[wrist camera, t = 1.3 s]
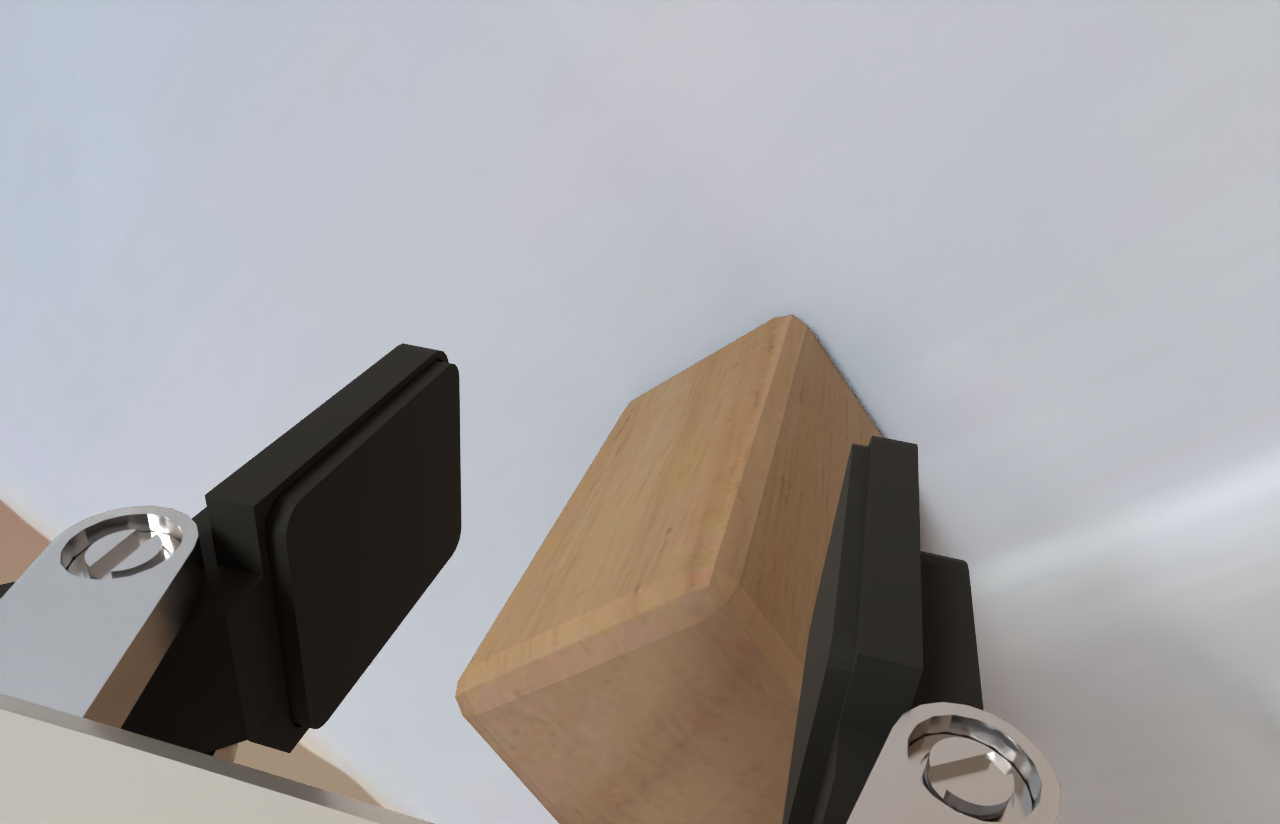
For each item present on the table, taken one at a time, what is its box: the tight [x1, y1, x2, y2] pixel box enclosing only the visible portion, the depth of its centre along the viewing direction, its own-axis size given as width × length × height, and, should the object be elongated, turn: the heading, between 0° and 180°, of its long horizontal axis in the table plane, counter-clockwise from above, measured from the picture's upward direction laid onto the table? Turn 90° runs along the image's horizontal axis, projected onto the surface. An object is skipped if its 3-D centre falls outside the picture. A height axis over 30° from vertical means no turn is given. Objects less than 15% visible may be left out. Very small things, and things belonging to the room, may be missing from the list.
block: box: [455, 314, 883, 824], centre depth 33 cm, size 10×10×20 cm
